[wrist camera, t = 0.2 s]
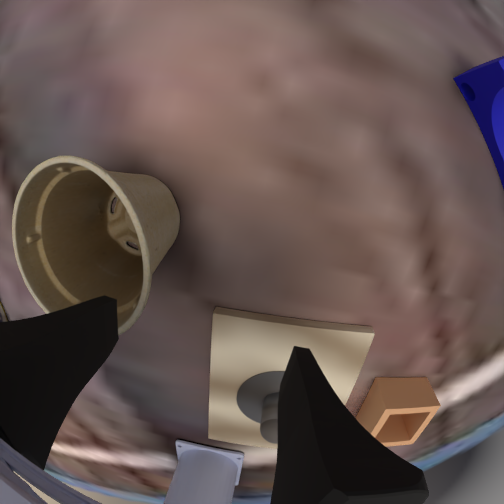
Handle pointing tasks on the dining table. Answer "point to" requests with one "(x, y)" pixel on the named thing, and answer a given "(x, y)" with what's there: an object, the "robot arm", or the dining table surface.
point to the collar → (398, 409)
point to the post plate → (272, 368)
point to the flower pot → (91, 235)
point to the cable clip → (487, 105)
